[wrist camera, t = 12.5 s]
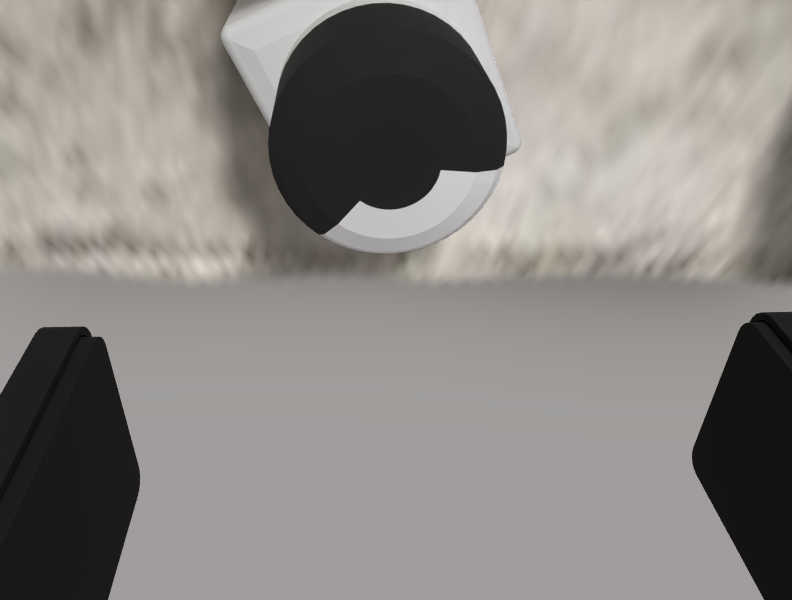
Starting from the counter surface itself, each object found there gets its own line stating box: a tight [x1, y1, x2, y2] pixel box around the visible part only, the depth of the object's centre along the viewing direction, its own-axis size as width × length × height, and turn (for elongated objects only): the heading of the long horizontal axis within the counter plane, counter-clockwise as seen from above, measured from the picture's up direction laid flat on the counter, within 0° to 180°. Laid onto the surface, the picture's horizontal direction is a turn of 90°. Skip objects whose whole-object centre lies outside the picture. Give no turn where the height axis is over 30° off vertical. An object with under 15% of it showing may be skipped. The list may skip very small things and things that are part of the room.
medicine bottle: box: [221, 0, 521, 254], centre depth 22 cm, size 7×7×12 cm
